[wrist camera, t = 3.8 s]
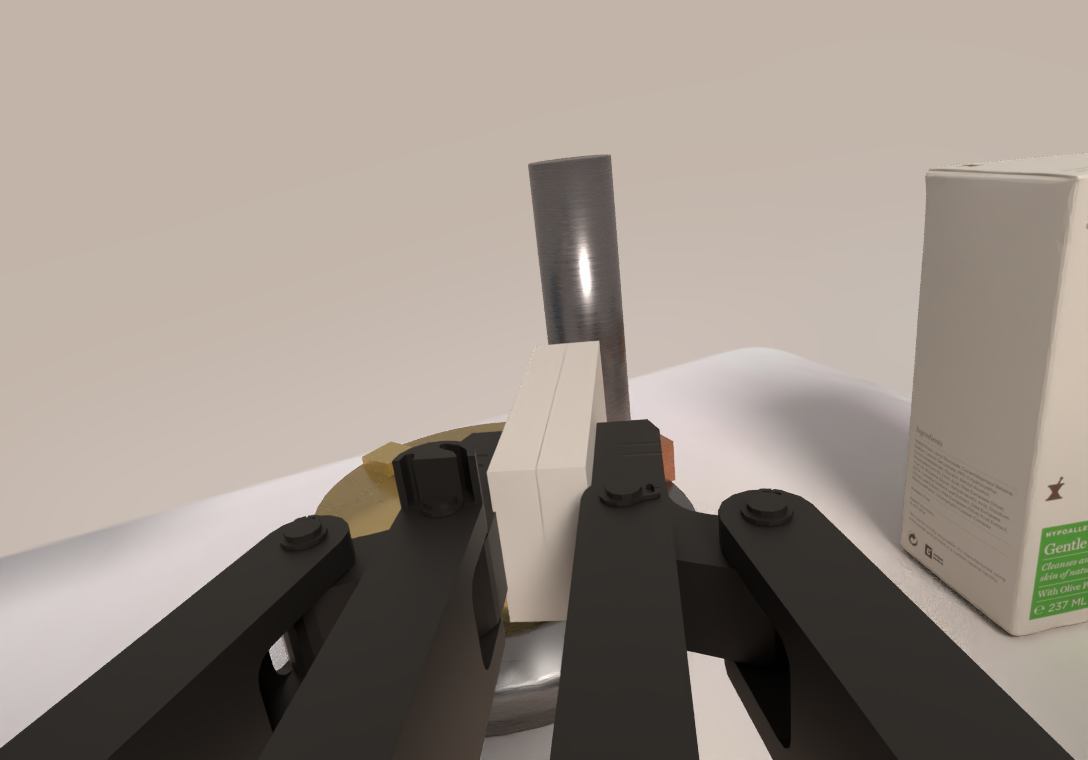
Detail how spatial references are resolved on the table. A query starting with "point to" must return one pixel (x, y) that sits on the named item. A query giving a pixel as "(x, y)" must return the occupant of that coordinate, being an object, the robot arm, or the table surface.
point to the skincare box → (1003, 390)
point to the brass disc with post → (571, 316)
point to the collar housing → (543, 655)
